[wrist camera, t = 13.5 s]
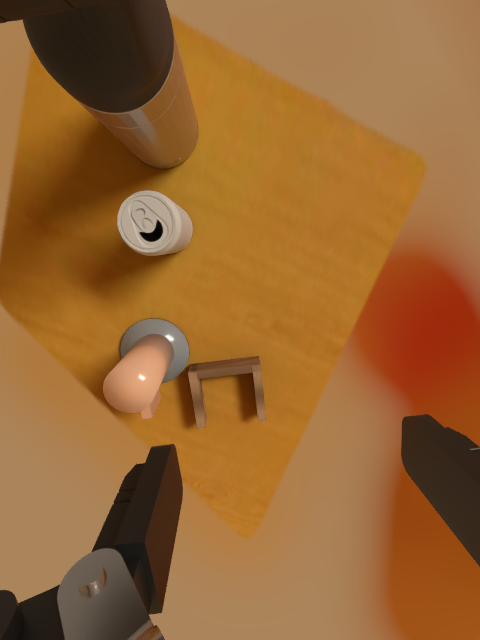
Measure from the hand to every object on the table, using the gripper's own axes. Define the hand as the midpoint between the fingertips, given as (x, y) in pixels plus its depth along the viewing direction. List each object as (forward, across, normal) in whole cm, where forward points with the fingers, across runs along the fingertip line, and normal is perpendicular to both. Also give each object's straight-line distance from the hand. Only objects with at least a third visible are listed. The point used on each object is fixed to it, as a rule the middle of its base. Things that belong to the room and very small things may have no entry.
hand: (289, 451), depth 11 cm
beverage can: (+34, +9, -10) cm, 37 cm away
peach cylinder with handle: (+33, +14, +8) cm, 37 cm away
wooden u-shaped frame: (+34, +4, +15) cm, 37 cm away
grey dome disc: (+34, +14, +7) cm, 38 cm away
